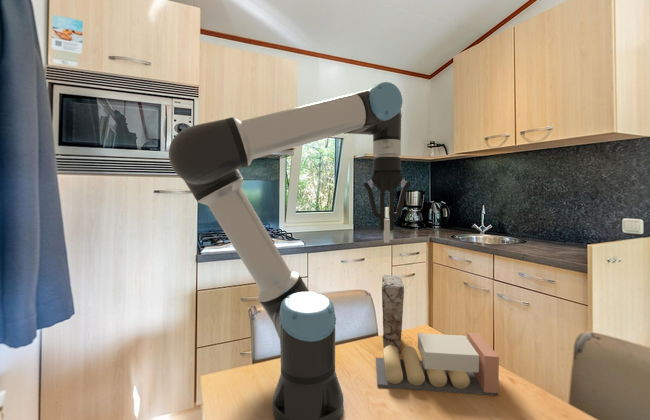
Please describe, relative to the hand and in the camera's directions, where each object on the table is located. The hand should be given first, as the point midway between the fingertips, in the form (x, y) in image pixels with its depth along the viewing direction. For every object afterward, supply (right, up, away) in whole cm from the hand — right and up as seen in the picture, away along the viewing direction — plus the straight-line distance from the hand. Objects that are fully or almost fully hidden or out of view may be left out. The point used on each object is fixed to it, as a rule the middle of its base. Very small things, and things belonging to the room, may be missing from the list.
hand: (386, 241), depth 86 cm
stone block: (+3, -32, +8) cm, 34 cm away
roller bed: (+9, -33, -9) cm, 35 cm away
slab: (+13, -28, -9) cm, 32 cm away
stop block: (+21, -33, -10) cm, 40 cm away
